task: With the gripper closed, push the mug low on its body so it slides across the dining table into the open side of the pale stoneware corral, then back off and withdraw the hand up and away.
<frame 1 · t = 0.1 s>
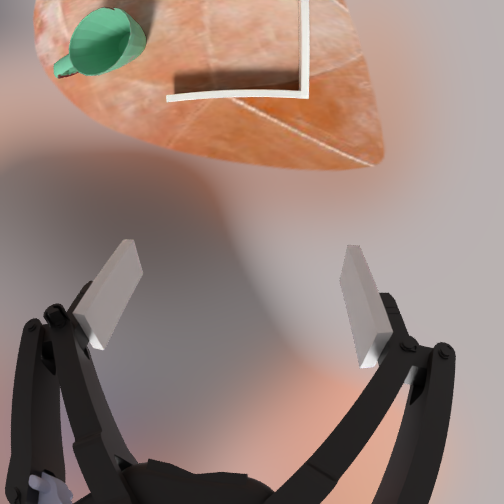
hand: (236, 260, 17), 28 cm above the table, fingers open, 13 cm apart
mug: (119, 51, 31), on the table
corral: (234, 32, 30), on the table
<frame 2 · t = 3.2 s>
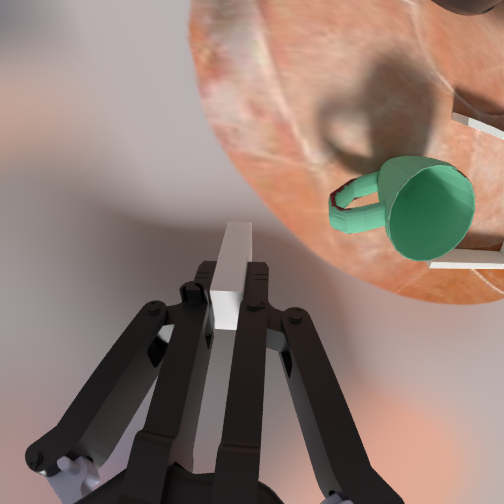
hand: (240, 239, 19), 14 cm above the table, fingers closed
mug: (377, 178, 29), on the table
corral: (484, 196, 28), on the table
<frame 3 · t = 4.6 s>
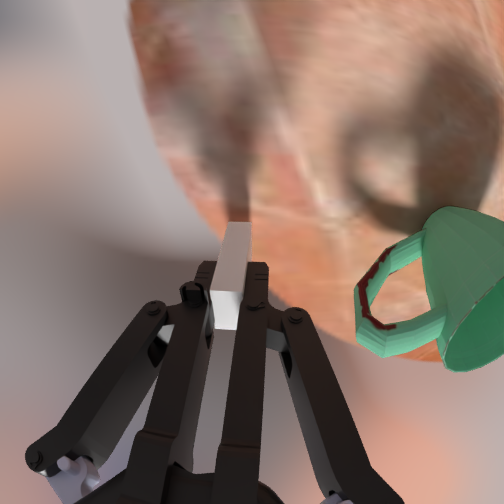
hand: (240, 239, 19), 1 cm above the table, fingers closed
mug: (419, 235, 19), on the table
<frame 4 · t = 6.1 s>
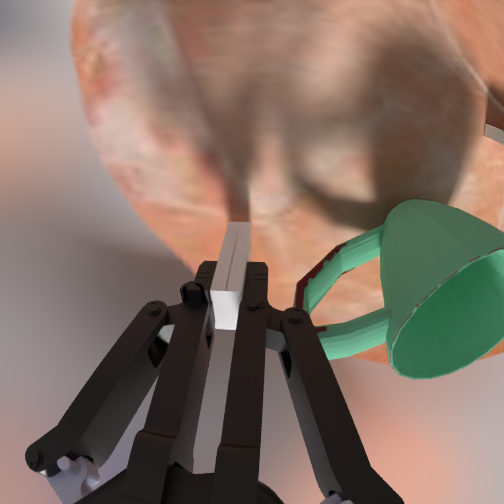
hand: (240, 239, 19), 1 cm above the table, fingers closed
mug: (380, 231, 19), on the table, touching gripper
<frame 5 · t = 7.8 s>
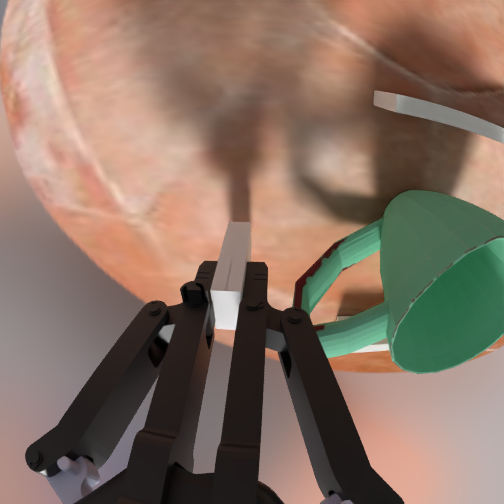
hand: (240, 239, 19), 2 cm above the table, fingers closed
mug: (380, 225, 19), on the table, touching gripper
corral: (452, 235, 19), on the table
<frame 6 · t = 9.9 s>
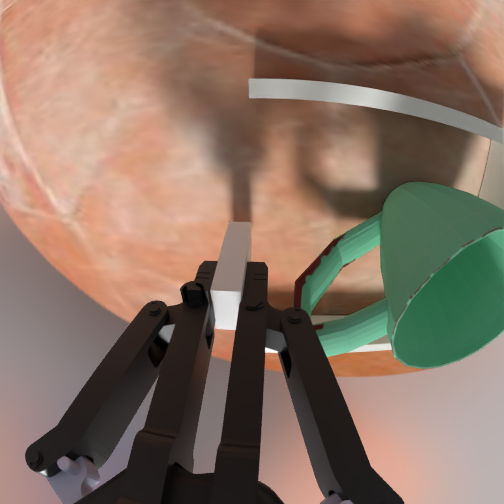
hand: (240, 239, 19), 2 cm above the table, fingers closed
mug: (380, 218, 19), on the table, touching gripper
corral: (376, 230, 19), on the table
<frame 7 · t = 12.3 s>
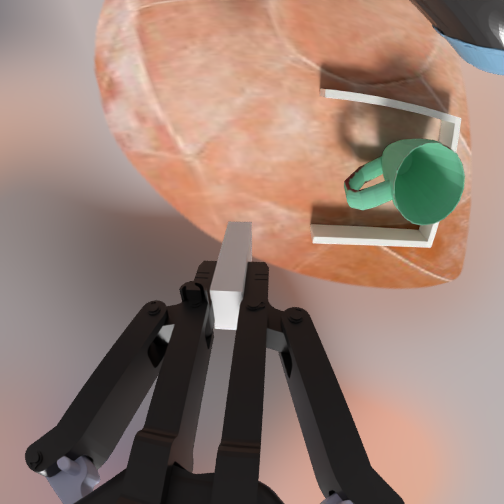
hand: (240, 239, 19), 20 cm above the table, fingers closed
mug: (381, 162, 34), on the table
corral: (379, 169, 34), on the table
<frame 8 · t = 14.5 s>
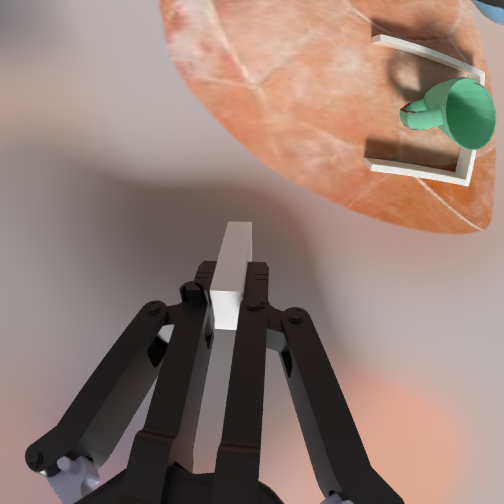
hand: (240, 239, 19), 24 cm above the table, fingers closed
mug: (423, 105, 32), on the table
corral: (422, 111, 32), on the table
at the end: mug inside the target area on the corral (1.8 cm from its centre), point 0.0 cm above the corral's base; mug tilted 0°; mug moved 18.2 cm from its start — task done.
